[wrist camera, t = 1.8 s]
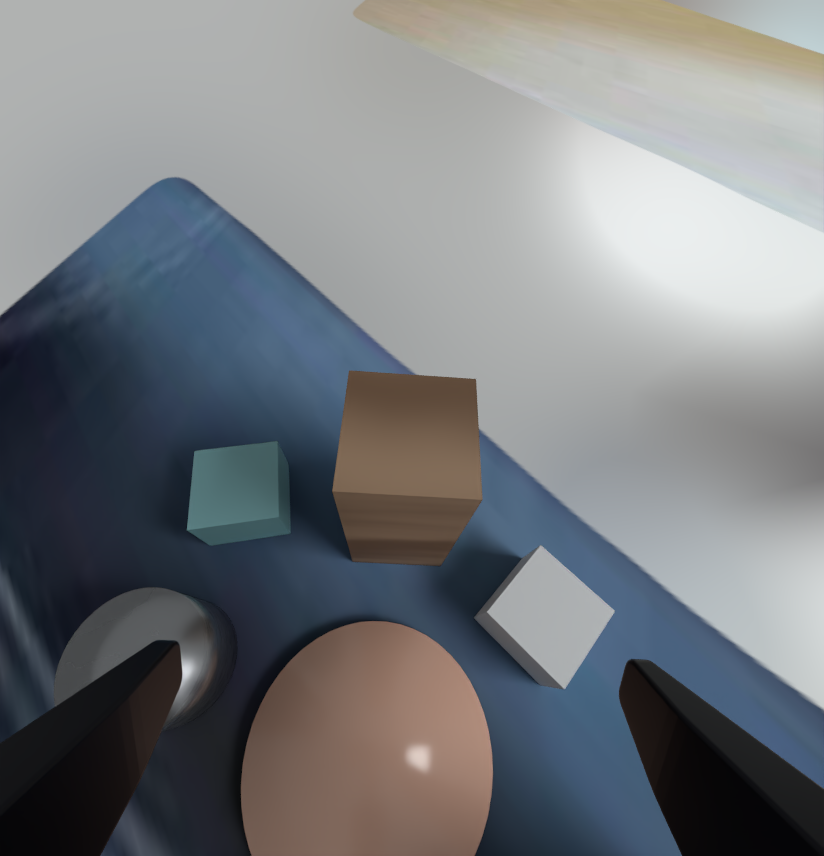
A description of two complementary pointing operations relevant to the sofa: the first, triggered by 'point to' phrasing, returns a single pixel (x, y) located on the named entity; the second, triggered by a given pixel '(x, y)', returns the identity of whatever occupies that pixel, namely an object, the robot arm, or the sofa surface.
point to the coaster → (368, 751)
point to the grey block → (545, 618)
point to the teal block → (239, 493)
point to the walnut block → (407, 466)
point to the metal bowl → (143, 624)
